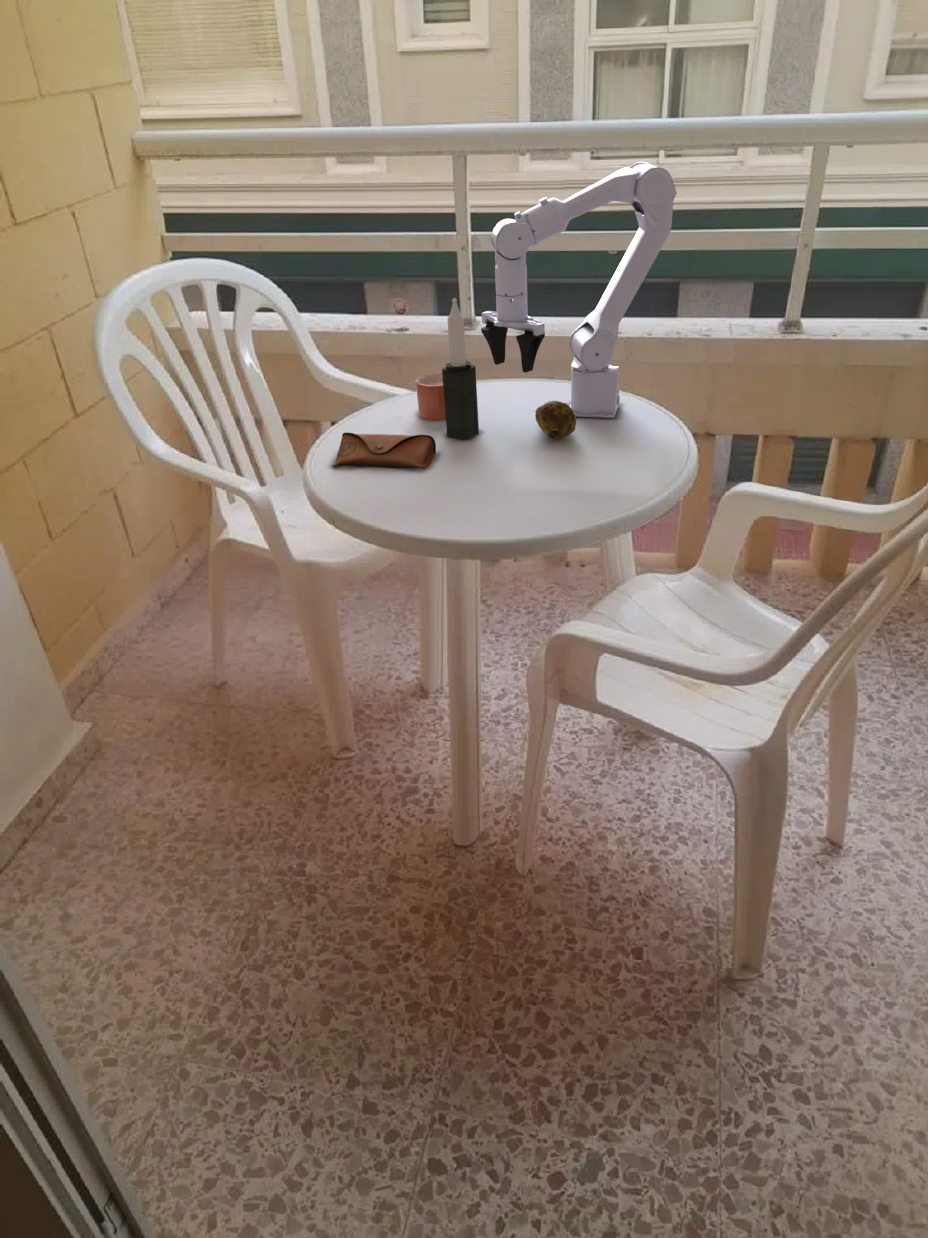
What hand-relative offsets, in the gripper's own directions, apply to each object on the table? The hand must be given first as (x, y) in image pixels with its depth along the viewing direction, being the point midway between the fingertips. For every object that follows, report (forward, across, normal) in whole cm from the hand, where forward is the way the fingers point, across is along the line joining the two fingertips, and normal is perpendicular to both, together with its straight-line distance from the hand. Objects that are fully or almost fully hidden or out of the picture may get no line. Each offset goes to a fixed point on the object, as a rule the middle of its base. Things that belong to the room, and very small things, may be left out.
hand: (513, 367), depth 157 cm
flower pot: (+10, -14, -8) cm, 19 cm away
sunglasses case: (+10, -4, -30) cm, 32 cm away
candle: (+10, -2, -12) cm, 16 cm away
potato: (+10, +13, -2) cm, 17 cm away
